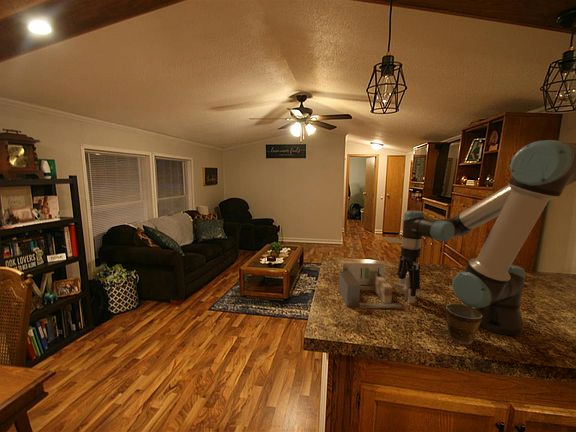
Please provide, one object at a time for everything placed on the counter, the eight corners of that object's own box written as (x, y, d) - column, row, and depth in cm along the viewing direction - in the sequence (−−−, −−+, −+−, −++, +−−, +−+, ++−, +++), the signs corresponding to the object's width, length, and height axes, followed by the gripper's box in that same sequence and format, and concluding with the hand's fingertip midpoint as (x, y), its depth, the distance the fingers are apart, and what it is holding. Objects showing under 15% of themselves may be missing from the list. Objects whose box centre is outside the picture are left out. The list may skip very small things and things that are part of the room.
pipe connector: (415, 306, 112) (417, 283, 111) (390, 299, 118) (392, 277, 117) (421, 297, 120) (423, 276, 118) (397, 291, 126) (399, 270, 124)
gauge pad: (391, 303, 113) (392, 287, 112) (384, 303, 113) (385, 287, 112) (378, 287, 128) (379, 273, 127) (371, 287, 128) (373, 273, 127)
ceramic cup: (484, 342, 88) (488, 313, 87) (467, 352, 84) (471, 321, 82) (444, 323, 100) (448, 297, 98) (428, 330, 95) (431, 303, 93)
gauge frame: (401, 308, 110) (404, 280, 108) (347, 307, 109) (348, 279, 108) (383, 287, 130) (385, 263, 128) (337, 287, 129) (338, 262, 127)
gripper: (433, 254, 105) (427, 309, 108) (408, 241, 126) (403, 287, 130) (414, 254, 105) (408, 309, 108) (392, 240, 126) (388, 287, 130)
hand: (406, 297), depth 119 cm, fingers closed on pipe connector, 9 cm apart
